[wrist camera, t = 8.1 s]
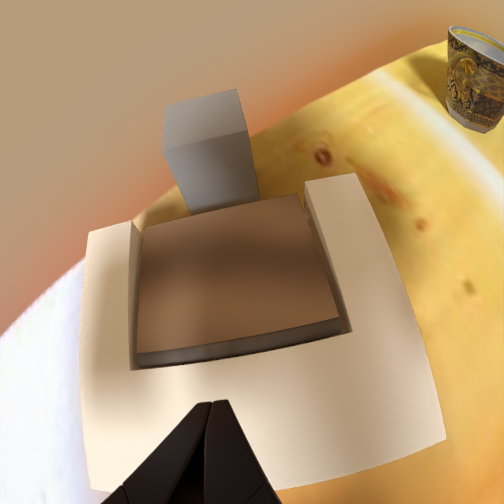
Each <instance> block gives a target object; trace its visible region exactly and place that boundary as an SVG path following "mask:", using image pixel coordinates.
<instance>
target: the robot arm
mask: <svg viewBox="0 0 504 504" xmlns="http://www.w3.org/2000/svg"><path fill="white" fill-rule="evenodd" d="M122 485H123V486H122ZM122 485H120V486H119V487H118V488H117V489H116V490H115V491H114V492H113V493H112V494H111V495H109V496H108V497H107V498H106V499H105V500H104V501H103V502H102V503H101V504H282V502H281V501H280V499H279V498H278V496H277V494H276V493H275V491H274V489H273V487H272V485H271V484H270V482H269V480H268V478H267V476H266V475H265V473H264V471H263V469H262V467H261V465H260V463H259V461H258V459H257V457H256V455H255V454H254V452H253V450H252V448H251V446H250V444H249V442H248V440H247V438H246V436H245V434H244V431H243V429H242V427H241V425H240V423H239V421H238V419H237V417H236V415H235V413H234V411H233V408H232V406H231V404H230V402H229V400H228V399H223V400H216V401H213V402H211V401H207V402H199V403H197V404H195V406H194V407H193V408H192V409H191V410H190V411H189V412H188V413H187V415H186V416H185V417H184V418H183V419H182V420H181V421H180V422H179V423H178V425H177V426H176V427H175V428H174V429H173V430H172V431H171V432H170V433H169V434H168V436H167V437H166V438H165V439H164V440H163V441H162V442H161V443H160V444H159V445H158V446H157V447H156V448H155V450H154V451H153V452H152V453H151V454H150V455H149V456H148V457H147V458H146V459H145V460H144V461H143V462H142V463H141V464H140V465H139V466H138V467H137V468H136V469H135V470H134V472H133V473H132V474H131V475H130V476H129V477H128V478H127V479H126V480H125V481H124V482H123V483H122Z"/></svg>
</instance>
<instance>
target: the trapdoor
mask: <svg viewBox="0 0 504 504" xmlns="http://www.w3.org/2000/svg"><path fill="white" fill-rule="evenodd" d="M341 333H342V325H341V321H340V318H339V314H338V311H337V308H336V305H335V302H334V298H333V295H332V292H331V289H330V286H329V283H328V280H327V277H326V274H325V271H324V268H323V265H322V262H321V259H320V256H319V253H318V250H317V247H316V245H315V242H314V239H313V236H312V233H311V230H310V228H309V225H308V222H307V219H306V217H305V214H304V211H303V208H302V206H301V203H300V200H299V198H298V195H297V194H292V195H287V196H282V197H277V198H272V199H267V200H262V201H257V202H252V203H247V204H243V205H238V206H233V207H229V208H224V209H220V210H215V211H211V212H206V213H202V214H197V215H193V216H189V217H185V218H180V219H176V220H172V221H168V222H164V223H160V224H156V225H152V226H148V227H145V236H144V245H143V255H142V265H141V277H140V290H139V306H138V327H137V363H138V365H139V367H140V368H141V369H142V368H152V367H161V366H170V365H178V364H186V363H193V362H200V361H207V360H214V359H220V358H226V357H232V356H238V355H244V354H249V353H255V352H260V351H265V350H270V349H275V348H280V347H285V346H290V345H295V344H299V343H304V342H308V341H313V340H317V339H321V338H325V337H329V336H333V335H337V334H341Z"/></svg>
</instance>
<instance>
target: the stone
mask: <svg viewBox="0 0 504 504" xmlns="http://www.w3.org/2000/svg"><path fill="white" fill-rule="evenodd" d="M162 152H163V154H164V157H165V159H166V161H167V163H168V165H169V167H170V170H171V172H172V174H173V176H174V179H175V181H176V183H177V185H178V187H179V189H180V191H181V194H182V196H183V198H184V200H185V202H186V204H187V206H188V208H189V211H190V213H191V215H192V216H193V215H197V214H202V213H206V212H211V211H215V210H220V209H224V208H229V207H233V206H238V205H243V204H247V203H252V202H257V201H260V197H259V191H258V186H257V180H256V174H255V169H254V163H253V157H252V152H251V146H250V141H249V135H248V130H247V126H246V122H245V119H244V115H243V111H242V108H241V104H240V100H239V96H238V93H237V89H233V90H228V91H224V92H219V93H215V94H210V95H206V96H202V97H198V98H194V99H190V100H186V101H182V102H179V103H175V104H172V105H168V106H166V107H165V117H164V128H163V143H162Z"/></svg>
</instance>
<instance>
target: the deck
mask: <svg viewBox="0 0 504 504" xmlns="http://www.w3.org/2000/svg"><path fill="white" fill-rule="evenodd" d="M304 214H305V217H306V219H307V222H308V225H309V228H310V230H311V233H312V236H313V239H314V242H315V245H316V247H317V250H318V253H319V256H320V259H321V262H322V265H323V268H324V271H325V274H326V277H327V280H328V283H329V286H330V289H331V292H332V295H333V298H334V302H335V305H336V308H337V311H338V314H339V318H340V321H341V325H342V333H341V334H337V335H333V336H331V338H327V339H323V340H319V341H314V342H310V343H306V344H301V345H297V346H292V347H287V348H282V349H277V350H273V351H267V352H262V353H257V354H252V355H246V356H240V357H234V358H228V359H222V360H216V361H209V362H203V363H195V364H188V365H180V366H173V365H170V366H161V367H152V368H142V369H141V368H140V367H139V365H138V363H137V327H138V306H139V290H140V277H141V265H142V255H143V245H144V237H143V236H142V234H141V233H140V232H139V230H138V229H137V228H136V226H135V225H134V223H133V222H132V221H127V222H123V223H120V224H116V225H113V226H109V227H105V228H102V229H99V230H95V231H91V232H89V236H88V243H87V250H86V258H85V266H84V276H83V287H82V300H81V316H80V349H79V365H80V397H81V413H82V425H83V435H84V444H85V452H86V459H87V466H88V473H89V479H90V484H91V489H94V490H100V491H107V492H114V491H115V490H116V489H117V488H118V487H119V486H120V485H122V483H123V482H124V481H125V480H126V479H127V478H128V477H129V476H130V475H131V474H132V473H133V472H134V470H135V469H136V468H137V467H138V466H139V465H140V464H141V463H142V462H143V461H144V460H145V459H146V458H147V457H148V456H149V455H150V454H151V453H152V452H153V451H154V450H155V448H156V447H157V446H158V445H159V444H160V443H161V442H162V441H163V440H164V439H165V438H166V437H167V436H168V434H169V433H170V432H171V431H172V430H173V429H174V428H175V427H176V426H177V425H178V423H179V422H180V421H181V420H182V419H183V418H184V417H185V416H186V415H187V413H188V412H189V411H190V410H191V409H192V408H193V407H194V406H195V404H197V403H199V402H207V401H211V402H213V401H216V400H223V399H228V400H229V402H230V404H231V406H232V408H233V411H234V413H235V415H236V417H237V419H238V421H239V423H240V425H241V427H242V429H243V431H244V434H245V436H246V438H247V440H248V442H249V444H250V446H251V448H252V450H253V452H254V454H255V455H256V457H257V459H258V461H259V463H260V465H261V467H262V469H263V471H264V473H265V475H266V476H267V478H268V480H269V482H270V484H271V485H272V487H273V489H274V491H275V490H282V489H288V488H294V487H299V486H304V485H309V484H314V483H319V482H323V481H328V480H332V479H336V478H340V477H344V476H347V475H351V474H354V473H358V472H361V471H365V470H368V469H371V468H374V467H377V466H380V465H383V464H386V463H389V462H392V461H395V460H397V459H400V458H403V457H405V456H408V455H411V454H413V453H416V452H418V451H420V450H423V449H425V448H428V447H430V446H432V445H434V444H437V443H439V442H441V441H443V440H445V439H446V433H445V428H444V423H443V418H442V413H441V409H440V404H439V400H438V395H437V391H436V387H435V383H434V379H433V375H432V371H431V368H430V364H429V360H428V357H427V353H426V350H425V346H424V343H423V340H422V336H421V333H420V330H419V327H418V324H417V321H416V318H415V315H414V312H413V309H412V306H411V303H410V300H409V297H408V294H407V292H406V289H405V286H404V283H403V281H402V278H401V275H400V273H399V270H398V268H397V265H396V262H395V260H394V257H393V255H392V252H391V250H390V248H389V245H388V243H387V240H386V238H385V236H384V233H383V231H382V229H381V226H380V224H379V222H378V220H377V217H376V215H375V213H374V211H373V209H372V206H371V204H370V202H369V200H368V198H367V196H366V194H365V192H364V190H363V187H362V185H361V183H360V181H359V179H358V177H357V175H356V173H351V174H345V175H339V176H333V177H327V178H321V179H315V180H310V181H305V211H304ZM122 486H123V485H122Z"/></svg>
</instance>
